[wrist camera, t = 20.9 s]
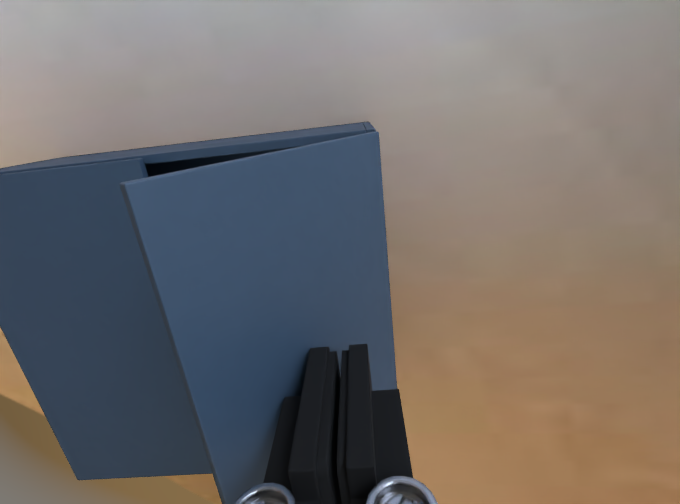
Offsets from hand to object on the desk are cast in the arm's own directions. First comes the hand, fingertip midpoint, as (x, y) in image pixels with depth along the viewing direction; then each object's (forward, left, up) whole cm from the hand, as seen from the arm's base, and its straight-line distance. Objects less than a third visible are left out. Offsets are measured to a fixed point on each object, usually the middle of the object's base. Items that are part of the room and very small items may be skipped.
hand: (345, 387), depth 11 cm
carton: (0, -6, -9) cm, 11 cm away
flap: (0, -1, 0) cm, 1 cm away
